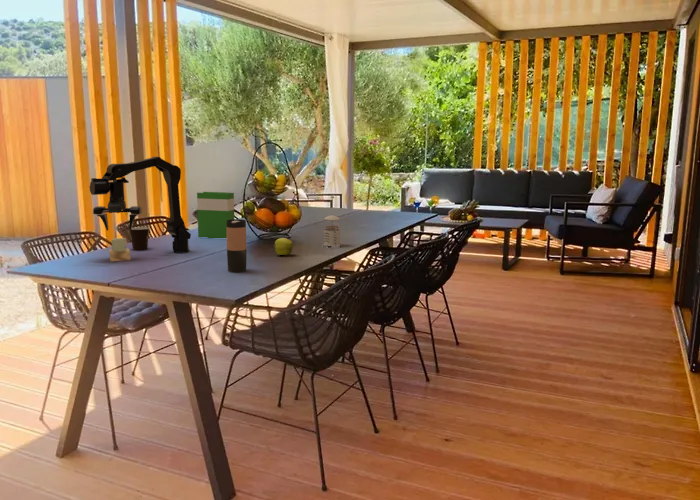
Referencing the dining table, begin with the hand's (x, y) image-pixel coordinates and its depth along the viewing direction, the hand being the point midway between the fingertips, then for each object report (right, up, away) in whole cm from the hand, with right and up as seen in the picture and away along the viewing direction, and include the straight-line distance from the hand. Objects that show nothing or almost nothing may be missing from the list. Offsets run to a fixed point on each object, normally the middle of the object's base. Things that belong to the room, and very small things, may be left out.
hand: (118, 230), depth 255 cm
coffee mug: (0, -8, +27) cm, 28 cm away
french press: (+90, -7, +42) cm, 100 cm away
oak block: (0, -13, +2) cm, 13 cm away
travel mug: (+54, -17, -19) cm, 60 cm away
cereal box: (+27, -2, +65) cm, 70 cm away
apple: (+69, -11, +15) cm, 71 cm away
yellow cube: (0, -9, +1) cm, 9 cm away
